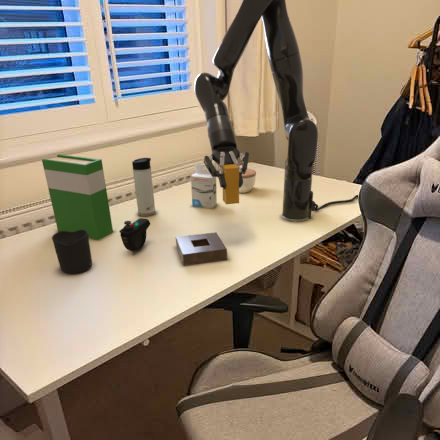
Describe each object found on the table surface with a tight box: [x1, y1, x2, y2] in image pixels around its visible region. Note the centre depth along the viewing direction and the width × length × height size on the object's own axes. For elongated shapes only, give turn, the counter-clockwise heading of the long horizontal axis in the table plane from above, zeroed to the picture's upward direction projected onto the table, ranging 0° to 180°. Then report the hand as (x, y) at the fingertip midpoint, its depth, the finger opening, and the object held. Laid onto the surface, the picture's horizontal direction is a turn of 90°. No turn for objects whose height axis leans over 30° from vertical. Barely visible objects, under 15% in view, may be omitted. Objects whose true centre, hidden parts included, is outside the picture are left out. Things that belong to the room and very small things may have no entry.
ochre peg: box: [222, 164, 240, 205], centre depth 129 cm, size 4×4×10 cm
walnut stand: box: [175, 231, 228, 266], centre depth 132 cm, size 13×13×4 cm
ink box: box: [190, 163, 218, 209], centre depth 165 cm, size 9×5×15 cm, turn 71°
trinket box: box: [239, 168, 257, 194], centre depth 181 cm, size 11×11×9 cm
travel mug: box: [131, 157, 156, 217], centre depth 158 cm, size 6×7×20 cm
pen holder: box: [51, 230, 93, 275], centre depth 124 cm, size 9×9×10 cm
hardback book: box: [41, 154, 114, 241], centre depth 143 cm, size 18×7×24 cm, turn 63°
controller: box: [119, 217, 152, 252], centre depth 134 cm, size 4×12×10 cm, turn 157°
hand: (232, 186), depth 128 cm, fingers closed on ochre peg, 4 cm apart
